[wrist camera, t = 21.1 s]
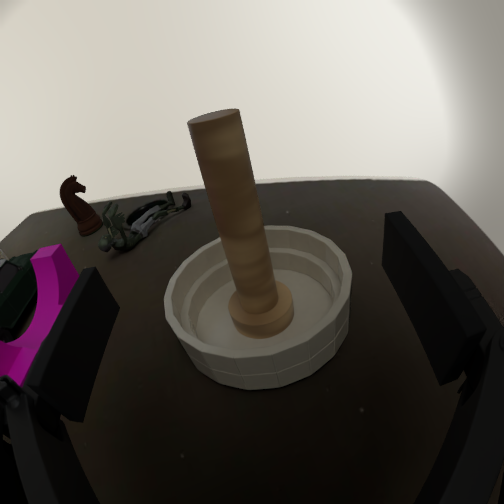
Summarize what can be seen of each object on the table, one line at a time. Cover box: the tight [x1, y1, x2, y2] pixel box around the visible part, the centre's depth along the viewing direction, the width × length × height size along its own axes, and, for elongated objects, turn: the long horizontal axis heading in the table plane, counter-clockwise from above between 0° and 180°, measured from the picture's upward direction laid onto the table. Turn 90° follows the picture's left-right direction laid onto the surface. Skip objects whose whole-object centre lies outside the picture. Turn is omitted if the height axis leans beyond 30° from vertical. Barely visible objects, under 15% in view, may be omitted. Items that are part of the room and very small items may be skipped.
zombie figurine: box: [98, 191, 191, 252], centre depth 38 cm, size 5×7×15 cm
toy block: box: [0, 244, 79, 388], centre depth 22 cm, size 15×6×8 cm, turn 176°
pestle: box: [187, 109, 294, 339], centre depth 19 cm, size 5×5×15 cm
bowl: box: [164, 226, 352, 390], centre depth 22 cm, size 13×13×4 cm
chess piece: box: [60, 175, 103, 236], centre depth 43 cm, size 5×5×10 cm
